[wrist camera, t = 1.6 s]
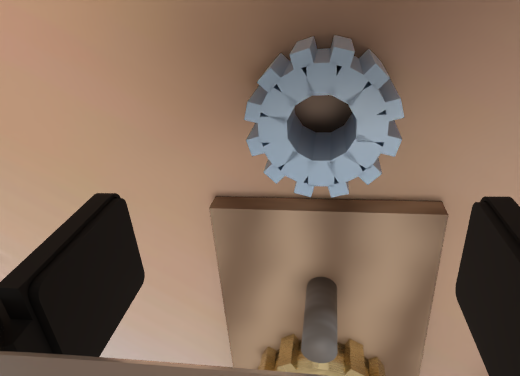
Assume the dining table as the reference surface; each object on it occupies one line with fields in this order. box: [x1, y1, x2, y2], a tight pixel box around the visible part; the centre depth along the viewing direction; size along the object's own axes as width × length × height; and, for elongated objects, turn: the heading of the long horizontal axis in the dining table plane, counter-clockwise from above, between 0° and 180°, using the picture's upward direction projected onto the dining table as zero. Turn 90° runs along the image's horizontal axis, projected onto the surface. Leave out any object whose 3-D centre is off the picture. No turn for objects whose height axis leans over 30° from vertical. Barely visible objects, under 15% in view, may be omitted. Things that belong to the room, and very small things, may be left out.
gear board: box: [209, 197, 448, 376], centre depth 27 cm, size 14×22×6 cm, turn 4°
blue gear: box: [244, 35, 404, 197], centre depth 20 cm, size 7×7×4 cm
